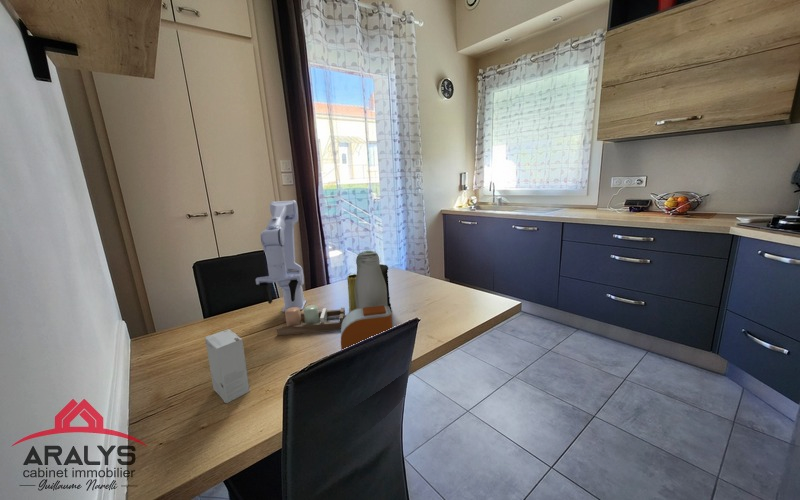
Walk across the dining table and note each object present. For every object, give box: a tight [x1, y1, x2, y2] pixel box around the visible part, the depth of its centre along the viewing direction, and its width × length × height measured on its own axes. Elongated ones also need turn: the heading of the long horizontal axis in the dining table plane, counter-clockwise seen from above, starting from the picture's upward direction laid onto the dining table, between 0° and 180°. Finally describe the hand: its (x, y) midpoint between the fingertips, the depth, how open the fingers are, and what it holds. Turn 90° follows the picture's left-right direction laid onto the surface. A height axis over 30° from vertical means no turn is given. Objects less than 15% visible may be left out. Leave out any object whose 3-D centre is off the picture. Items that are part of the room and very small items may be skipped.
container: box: [380, 263, 392, 311], centre depth 115 cm, size 9×9×18 cm
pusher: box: [319, 307, 347, 323], centre depth 109 cm, size 8×14×4 cm, turn 97°
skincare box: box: [204, 328, 250, 404], centre depth 74 cm, size 8×6×15 cm
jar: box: [284, 307, 303, 326], centre depth 107 cm, size 5×5×6 cm
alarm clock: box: [340, 305, 393, 350], centre depth 88 cm, size 15×8×14 cm, turn 100°
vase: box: [346, 273, 357, 313], centre depth 118 cm, size 6×6×14 cm
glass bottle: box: [354, 250, 387, 308], centre depth 98 cm, size 10×10×28 cm
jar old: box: [302, 304, 321, 325], centre depth 108 cm, size 5×5×6 cm
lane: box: [276, 307, 346, 336], centre depth 108 cm, size 11×22×4 cm, turn 97°
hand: (282, 301), depth 106 cm, fingers open, 7 cm apart
